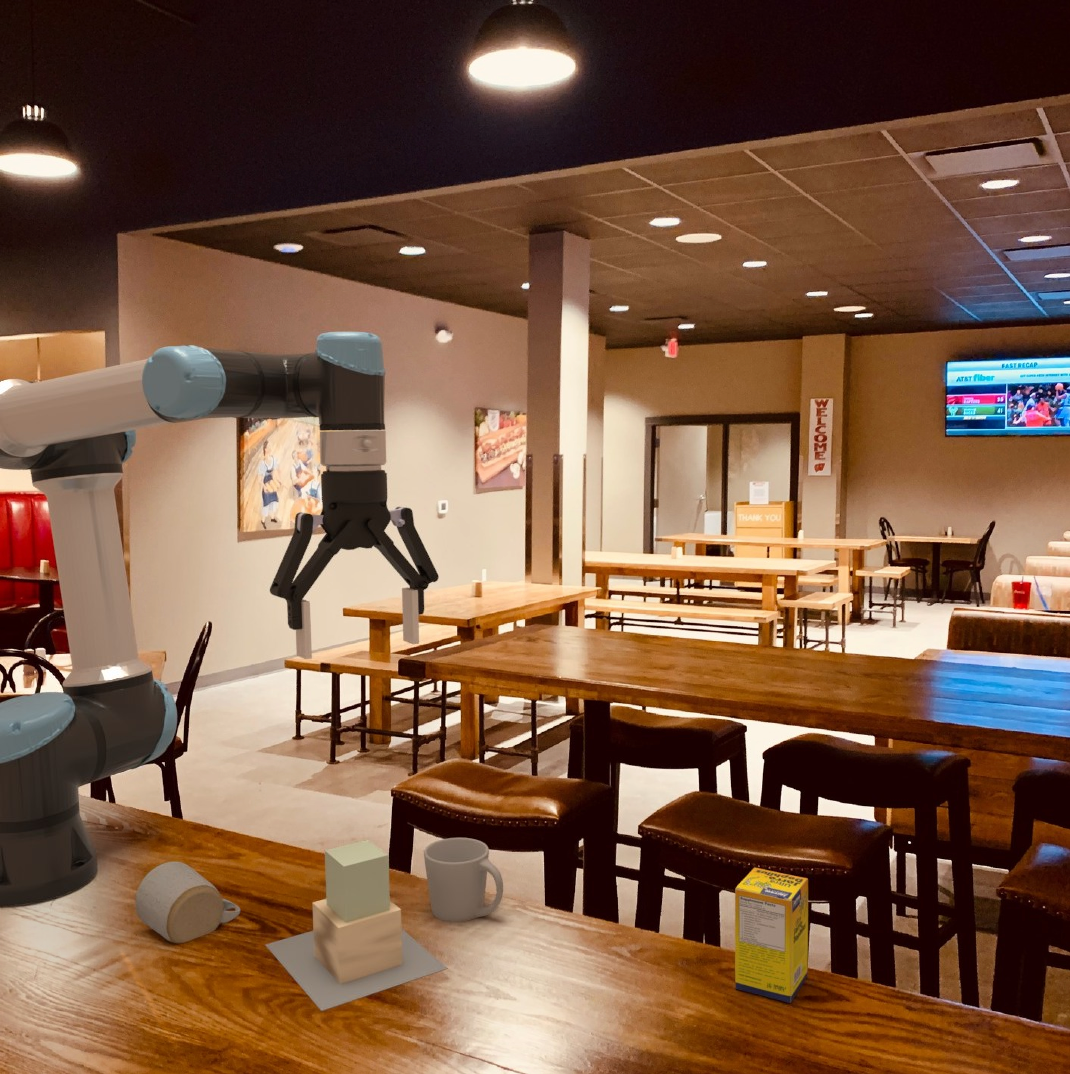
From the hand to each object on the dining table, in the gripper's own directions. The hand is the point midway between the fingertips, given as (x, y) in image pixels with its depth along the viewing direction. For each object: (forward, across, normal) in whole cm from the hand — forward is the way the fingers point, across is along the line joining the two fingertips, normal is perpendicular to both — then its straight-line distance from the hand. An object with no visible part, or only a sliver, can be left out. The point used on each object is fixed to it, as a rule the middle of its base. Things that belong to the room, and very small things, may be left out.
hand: (359, 649), depth 123 cm
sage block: (+24, -7, -13) cm, 29 cm away
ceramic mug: (+32, -19, +6) cm, 38 cm away
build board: (+32, -7, -12) cm, 35 cm away
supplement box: (+32, +27, -40) cm, 58 cm away
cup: (+32, +8, -10) cm, 34 cm away
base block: (+30, -7, -13) cm, 34 cm away
